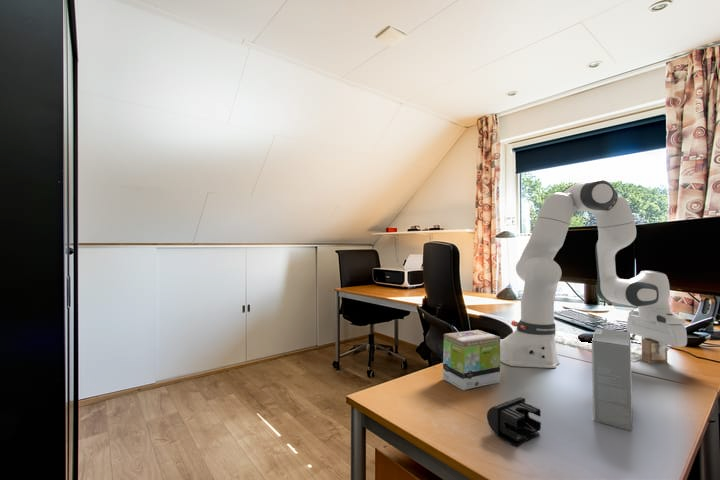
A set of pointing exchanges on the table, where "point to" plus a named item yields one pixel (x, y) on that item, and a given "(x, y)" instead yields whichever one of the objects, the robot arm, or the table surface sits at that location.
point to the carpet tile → (574, 342)
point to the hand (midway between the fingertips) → (654, 351)
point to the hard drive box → (612, 378)
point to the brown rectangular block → (652, 352)
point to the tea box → (471, 359)
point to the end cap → (514, 421)
